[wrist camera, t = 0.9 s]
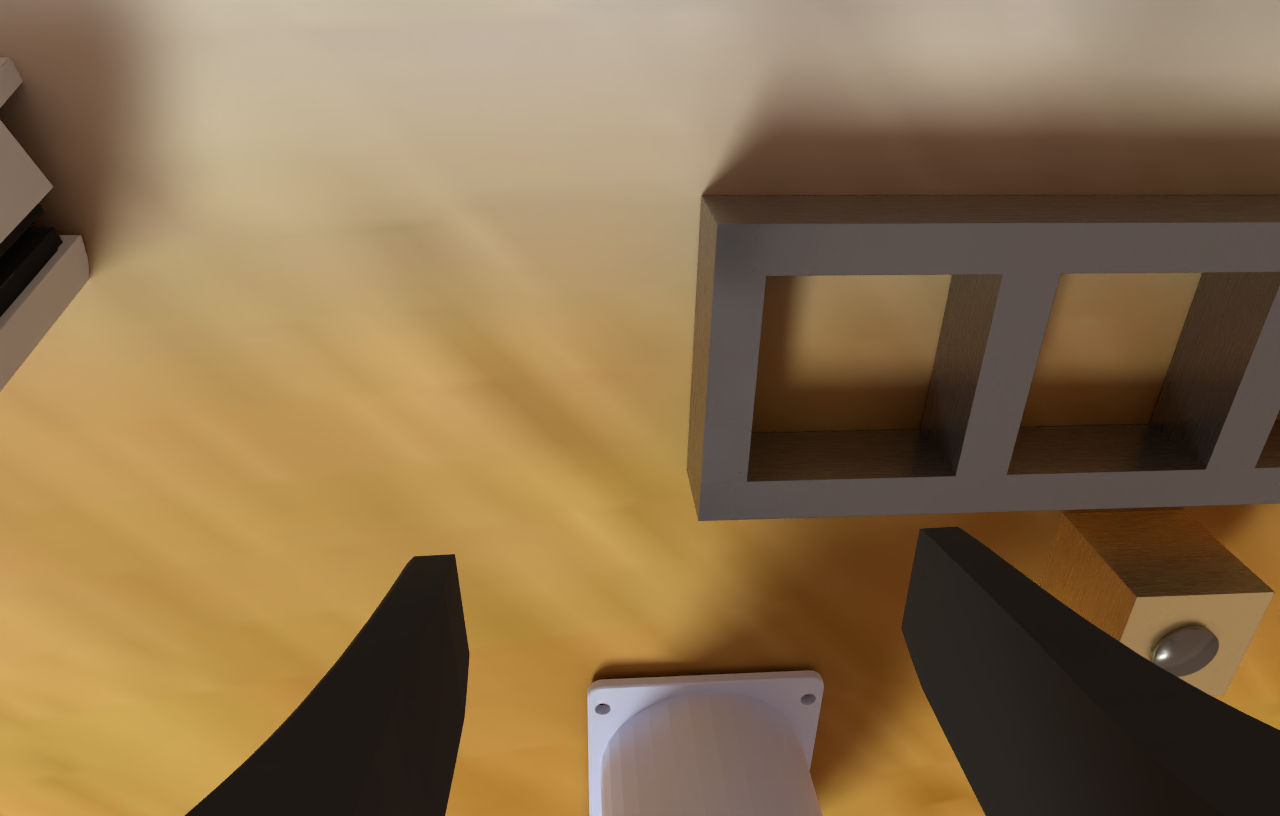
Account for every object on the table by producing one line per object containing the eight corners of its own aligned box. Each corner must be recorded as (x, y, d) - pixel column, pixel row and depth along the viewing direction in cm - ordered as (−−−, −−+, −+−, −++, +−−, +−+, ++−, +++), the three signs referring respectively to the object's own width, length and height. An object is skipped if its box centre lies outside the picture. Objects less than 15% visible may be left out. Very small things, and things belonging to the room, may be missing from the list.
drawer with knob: (1143, 604, 29) (1229, 700, 25) (1030, 608, 28) (1100, 707, 25) (1181, 508, 27) (1279, 596, 23) (1061, 511, 26) (1141, 602, 23)
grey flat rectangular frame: (1387, 452, 26) (1463, 497, 24) (686, 470, 24) (698, 520, 22) (1521, 195, 22) (1626, 221, 20) (701, 195, 21) (717, 224, 18)
